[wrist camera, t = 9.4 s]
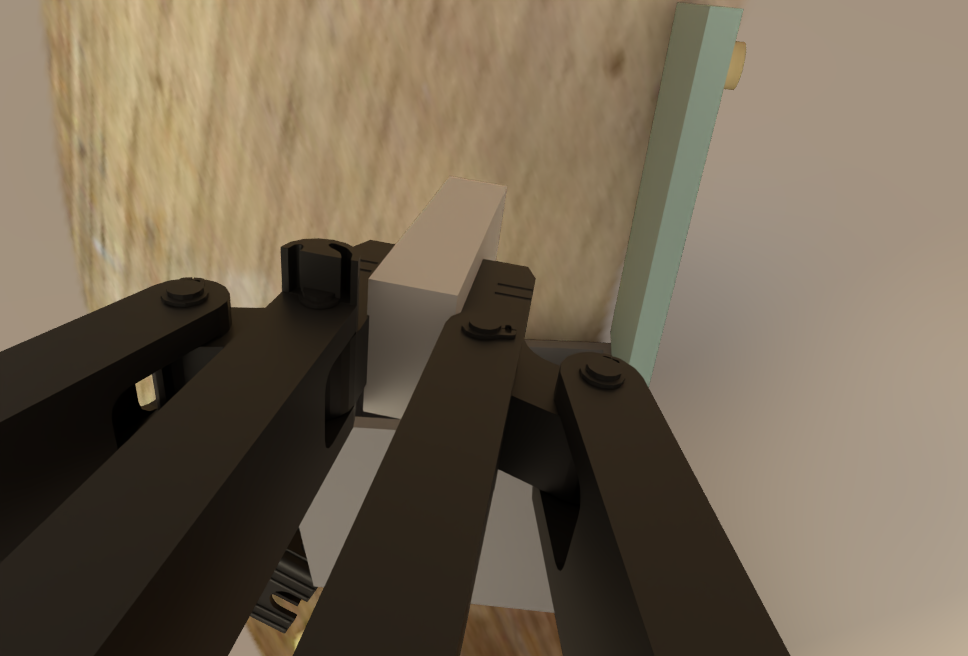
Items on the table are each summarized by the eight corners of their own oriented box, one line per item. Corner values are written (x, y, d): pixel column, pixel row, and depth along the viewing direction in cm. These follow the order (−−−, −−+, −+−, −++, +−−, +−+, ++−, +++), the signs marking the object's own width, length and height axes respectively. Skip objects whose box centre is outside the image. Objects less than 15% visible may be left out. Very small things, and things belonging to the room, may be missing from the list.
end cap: (278, 485, 54) (240, 545, 48) (349, 523, 55) (320, 586, 49) (243, 547, 59) (204, 608, 53) (308, 581, 60) (277, 645, 54)
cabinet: (606, 496, 49) (609, 618, 39) (365, 477, 52) (313, 586, 42) (617, 343, 42) (624, 445, 33) (340, 331, 45) (273, 421, 36)
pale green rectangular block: (608, 340, 42) (612, 436, 33) (677, 2, 32) (710, 6, 23) (647, 345, 41) (662, 444, 32) (728, 6, 32) (782, 12, 23)
